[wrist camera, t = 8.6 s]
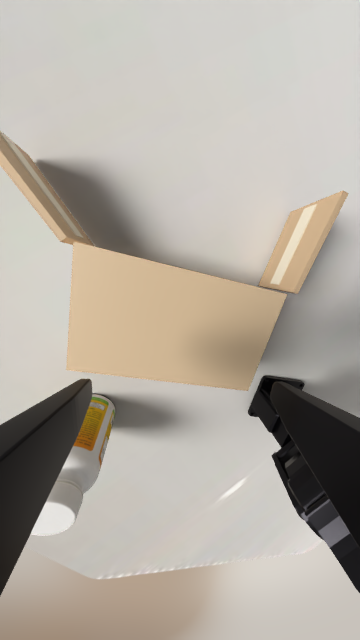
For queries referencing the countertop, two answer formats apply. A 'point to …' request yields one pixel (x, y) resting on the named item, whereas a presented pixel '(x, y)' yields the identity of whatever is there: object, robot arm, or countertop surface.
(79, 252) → the carton
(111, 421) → the supplement bottle
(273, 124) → the countertop surface
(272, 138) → the countertop surface
